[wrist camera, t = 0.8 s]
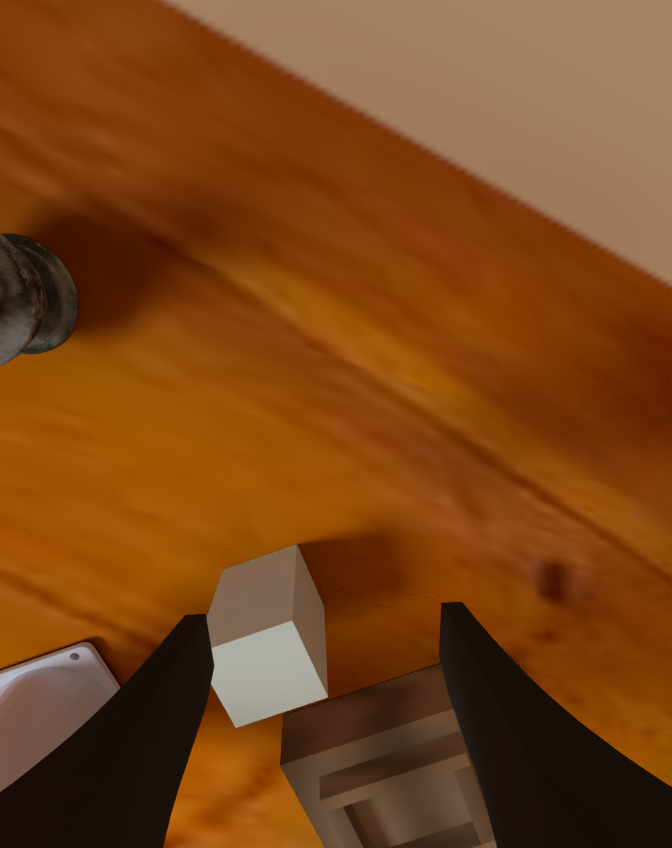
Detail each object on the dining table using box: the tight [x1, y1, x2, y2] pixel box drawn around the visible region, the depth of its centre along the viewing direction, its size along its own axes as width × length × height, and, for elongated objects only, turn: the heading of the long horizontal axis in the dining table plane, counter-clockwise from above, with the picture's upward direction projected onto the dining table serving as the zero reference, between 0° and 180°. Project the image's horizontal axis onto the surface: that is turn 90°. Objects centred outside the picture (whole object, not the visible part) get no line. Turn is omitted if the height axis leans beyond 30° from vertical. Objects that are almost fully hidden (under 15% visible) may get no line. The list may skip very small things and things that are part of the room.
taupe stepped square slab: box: [280, 663, 497, 848], centre depth 26 cm, size 12×12×4 cm
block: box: [207, 544, 328, 728], centre depth 21 cm, size 4×4×6 cm
